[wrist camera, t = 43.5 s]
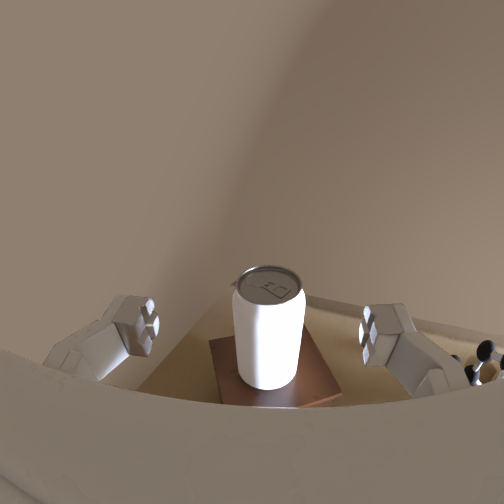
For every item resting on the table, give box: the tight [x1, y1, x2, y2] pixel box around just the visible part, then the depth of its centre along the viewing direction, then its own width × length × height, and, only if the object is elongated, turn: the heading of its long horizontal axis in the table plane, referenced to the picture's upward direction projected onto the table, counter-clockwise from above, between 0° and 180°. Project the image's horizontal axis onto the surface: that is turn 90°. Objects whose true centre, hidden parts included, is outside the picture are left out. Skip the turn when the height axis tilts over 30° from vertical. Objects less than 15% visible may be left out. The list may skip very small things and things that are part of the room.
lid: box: [209, 323, 342, 408], centre depth 31 cm, size 12×12×1 cm
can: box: [232, 265, 305, 390], centre depth 28 cm, size 6×6×12 cm
